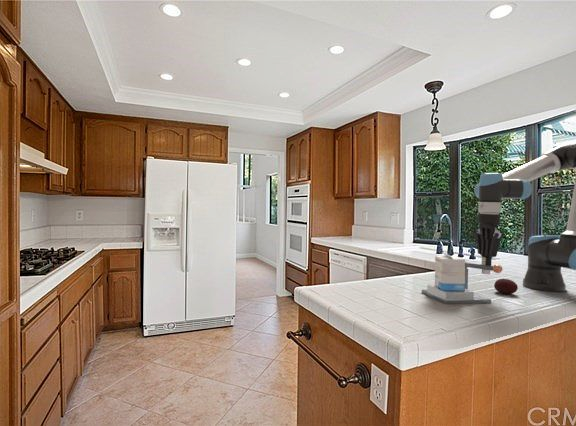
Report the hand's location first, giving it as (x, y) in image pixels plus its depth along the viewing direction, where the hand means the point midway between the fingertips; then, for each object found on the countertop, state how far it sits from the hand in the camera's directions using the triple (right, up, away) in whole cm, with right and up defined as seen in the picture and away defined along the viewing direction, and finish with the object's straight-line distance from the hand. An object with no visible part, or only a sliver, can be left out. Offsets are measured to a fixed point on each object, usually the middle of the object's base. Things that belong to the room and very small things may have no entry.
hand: (485, 273), depth 130 cm
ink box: (-16, -5, -4) cm, 17 cm away
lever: (-3, +1, 0) cm, 3 cm away
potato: (+11, -10, +6) cm, 16 cm away
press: (-13, -9, -1) cm, 16 cm away
